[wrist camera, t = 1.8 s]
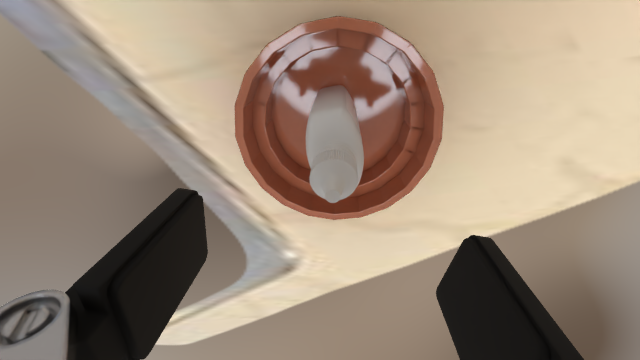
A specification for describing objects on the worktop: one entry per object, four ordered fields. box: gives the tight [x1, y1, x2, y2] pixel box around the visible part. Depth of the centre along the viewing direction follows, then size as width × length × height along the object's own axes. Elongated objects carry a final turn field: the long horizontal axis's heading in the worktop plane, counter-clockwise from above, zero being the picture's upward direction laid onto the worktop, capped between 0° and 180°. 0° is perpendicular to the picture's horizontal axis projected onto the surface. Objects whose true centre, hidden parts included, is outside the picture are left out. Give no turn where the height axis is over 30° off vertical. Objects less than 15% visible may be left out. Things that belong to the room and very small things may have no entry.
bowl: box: [235, 16, 444, 220], centre depth 20 cm, size 14×14×5 cm
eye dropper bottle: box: [306, 85, 364, 203], centre depth 17 cm, size 4×6×12 cm
